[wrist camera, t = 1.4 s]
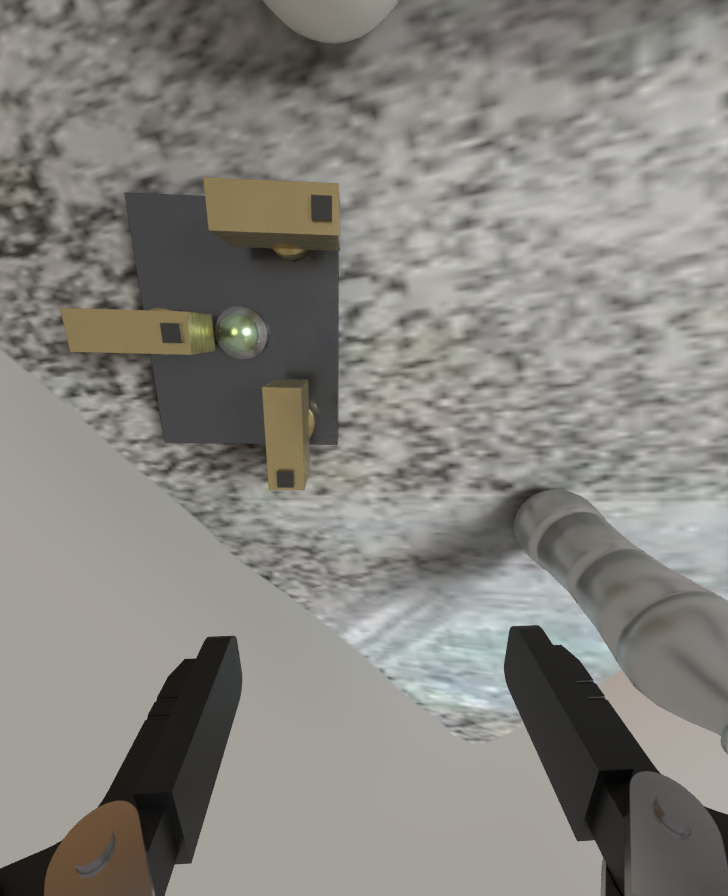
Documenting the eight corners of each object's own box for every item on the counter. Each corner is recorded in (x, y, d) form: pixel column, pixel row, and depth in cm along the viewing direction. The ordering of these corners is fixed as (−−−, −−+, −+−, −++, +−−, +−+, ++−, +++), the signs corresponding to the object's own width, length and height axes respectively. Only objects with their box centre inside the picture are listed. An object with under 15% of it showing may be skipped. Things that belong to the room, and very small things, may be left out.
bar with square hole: (130, 351, 24) (67, 358, 19) (122, 308, 23) (54, 301, 18) (225, 354, 24) (190, 360, 19) (221, 310, 24) (182, 305, 18)
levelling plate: (142, 203, 23) (110, 184, 20) (338, 212, 24) (337, 194, 21) (177, 435, 28) (155, 448, 25) (338, 437, 29) (336, 450, 26)
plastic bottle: (491, 512, 32) (701, 782, 13) (554, 465, 31) (891, 688, 12) (528, 556, 33) (763, 853, 14) (590, 514, 32) (935, 777, 13)
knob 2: (241, 258, 23) (207, 235, 17) (237, 207, 22) (200, 167, 16) (340, 261, 23) (338, 240, 17) (341, 212, 22) (338, 173, 17)
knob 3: (275, 375, 25) (255, 387, 20) (315, 376, 25) (305, 388, 20) (280, 459, 27) (262, 491, 22) (316, 459, 27) (308, 492, 22)
